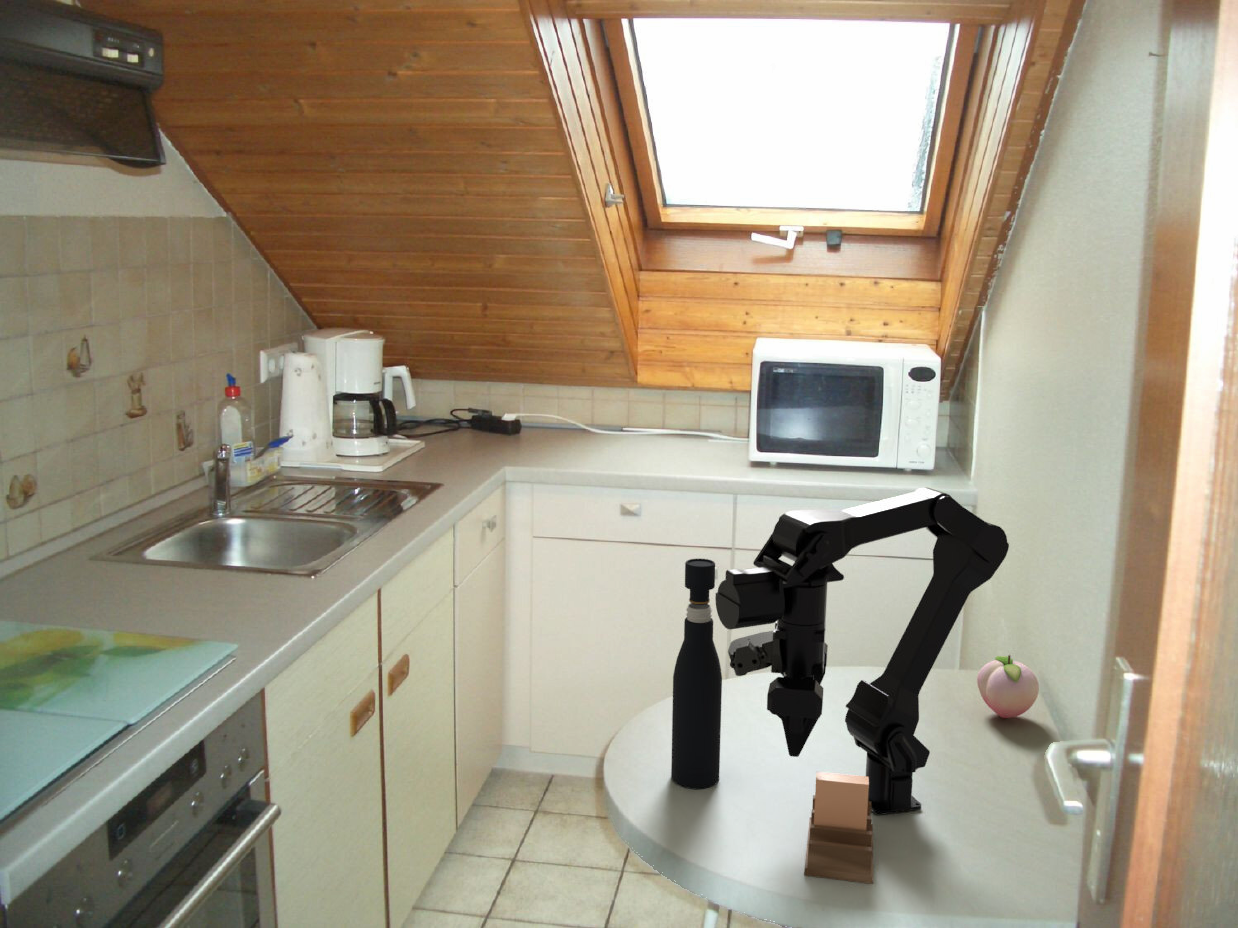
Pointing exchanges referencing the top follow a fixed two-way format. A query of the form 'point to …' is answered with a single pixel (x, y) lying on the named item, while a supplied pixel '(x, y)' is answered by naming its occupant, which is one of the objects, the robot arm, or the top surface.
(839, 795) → the block
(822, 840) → the rack
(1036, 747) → the top surface
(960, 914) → the top surface
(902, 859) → the top surface
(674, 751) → the wine bottle
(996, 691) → the decorative fruit
